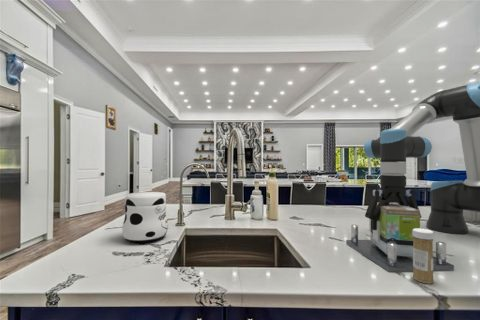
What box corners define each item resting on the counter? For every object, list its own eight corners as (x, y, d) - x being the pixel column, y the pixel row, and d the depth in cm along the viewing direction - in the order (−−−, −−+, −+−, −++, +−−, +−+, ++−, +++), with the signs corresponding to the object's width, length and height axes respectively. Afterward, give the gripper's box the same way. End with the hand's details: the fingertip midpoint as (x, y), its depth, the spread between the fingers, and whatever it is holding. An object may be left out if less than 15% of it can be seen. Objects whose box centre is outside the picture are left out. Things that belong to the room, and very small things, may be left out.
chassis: (395, 242, 95) (395, 223, 95) (453, 270, 71) (453, 244, 71) (346, 243, 94) (346, 224, 94) (388, 272, 70) (388, 246, 70)
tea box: (421, 258, 74) (421, 209, 74) (385, 255, 76) (385, 208, 76) (399, 242, 89) (398, 201, 89) (369, 240, 91) (369, 200, 91)
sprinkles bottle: (438, 283, 63) (438, 231, 64) (424, 285, 62) (424, 232, 63) (421, 275, 68) (421, 227, 68) (408, 277, 67) (408, 228, 67)
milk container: (176, 238, 99) (176, 194, 100) (133, 249, 87) (134, 198, 87) (155, 229, 111) (155, 190, 111) (115, 238, 99) (115, 194, 99)
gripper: (416, 174, 87) (416, 235, 87) (353, 174, 86) (353, 236, 85) (434, 175, 80) (435, 242, 80) (366, 175, 78) (366, 243, 78)
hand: (392, 239), depth 82 cm, fingers closed on tea box, 11 cm apart
